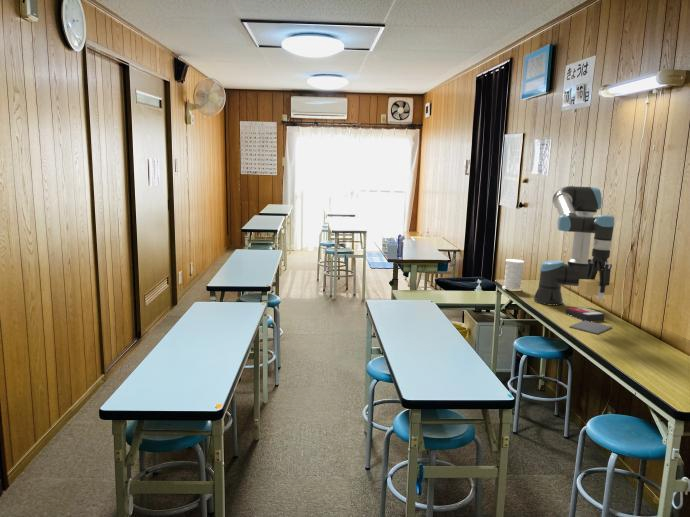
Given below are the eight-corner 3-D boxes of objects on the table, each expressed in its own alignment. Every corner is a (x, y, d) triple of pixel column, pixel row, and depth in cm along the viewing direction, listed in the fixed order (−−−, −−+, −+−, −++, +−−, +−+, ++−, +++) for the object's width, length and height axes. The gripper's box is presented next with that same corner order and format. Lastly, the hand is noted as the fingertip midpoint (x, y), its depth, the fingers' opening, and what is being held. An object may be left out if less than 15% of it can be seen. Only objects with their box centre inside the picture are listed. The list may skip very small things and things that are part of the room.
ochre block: (587, 282, 247) (613, 282, 250) (579, 279, 252) (605, 279, 255) (585, 294, 248) (612, 294, 251) (577, 291, 253) (603, 291, 256)
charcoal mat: (585, 321, 266) (585, 320, 265) (612, 328, 256) (612, 326, 256) (569, 327, 254) (569, 326, 254) (597, 334, 245) (597, 333, 245)
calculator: (582, 306, 282) (605, 312, 268) (581, 314, 282) (604, 321, 268) (565, 307, 278) (588, 313, 264) (565, 315, 279) (587, 322, 265)
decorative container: (525, 292, 323) (528, 262, 320) (506, 291, 322) (510, 262, 318) (516, 287, 335) (519, 259, 331) (498, 287, 333) (501, 258, 330)
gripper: (581, 245, 257) (575, 292, 261) (608, 252, 238) (601, 302, 243) (594, 245, 258) (588, 292, 262) (623, 252, 240) (616, 302, 244)
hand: (595, 297), depth 253 cm, fingers closed on ochre block, 6 cm apart
